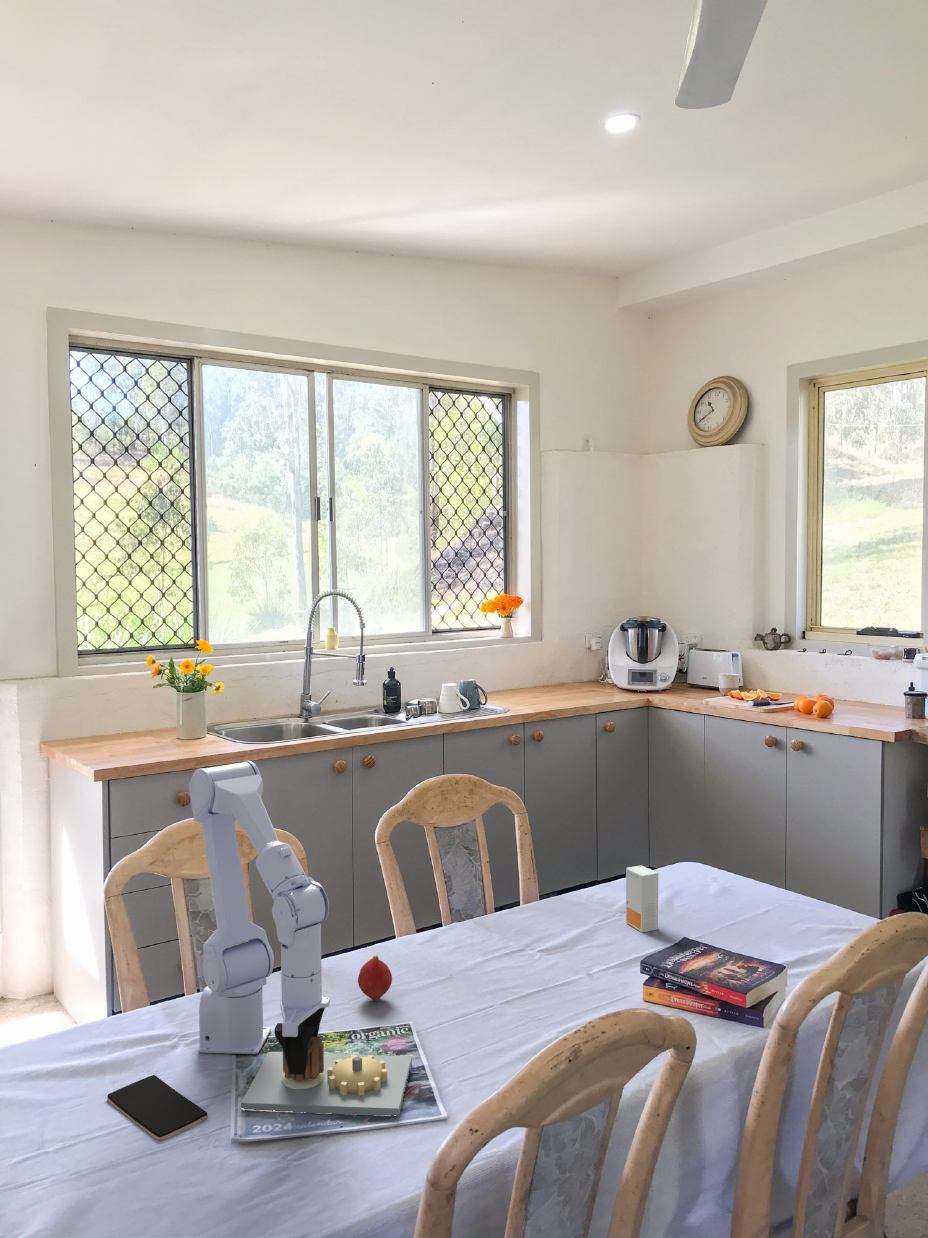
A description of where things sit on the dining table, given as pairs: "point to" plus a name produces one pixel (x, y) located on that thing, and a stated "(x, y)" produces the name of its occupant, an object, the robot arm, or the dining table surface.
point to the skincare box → (642, 898)
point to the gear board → (333, 1086)
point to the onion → (374, 978)
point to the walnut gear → (309, 1062)
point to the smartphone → (157, 1107)
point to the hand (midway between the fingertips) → (302, 1061)
